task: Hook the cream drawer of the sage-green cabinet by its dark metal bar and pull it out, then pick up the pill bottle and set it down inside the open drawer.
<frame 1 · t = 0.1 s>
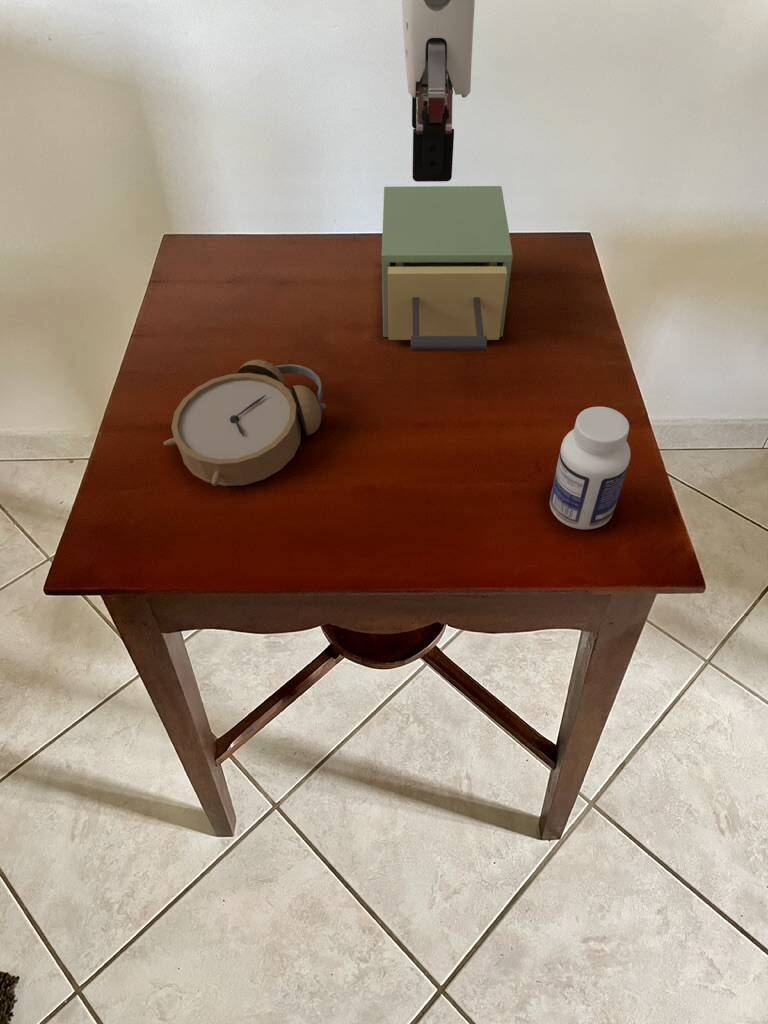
hand: (430, 152, 67), 20 cm above the table, tool pointing down, fingers open, 9 cm apart
alarm clock: (255, 435, 73), on the table
pill bottle: (580, 508, 66), on the table
cabinet: (440, 299, 86), on the table
drawer: (444, 293, 79), point 5 cm above the table, slide at 0.5 cm
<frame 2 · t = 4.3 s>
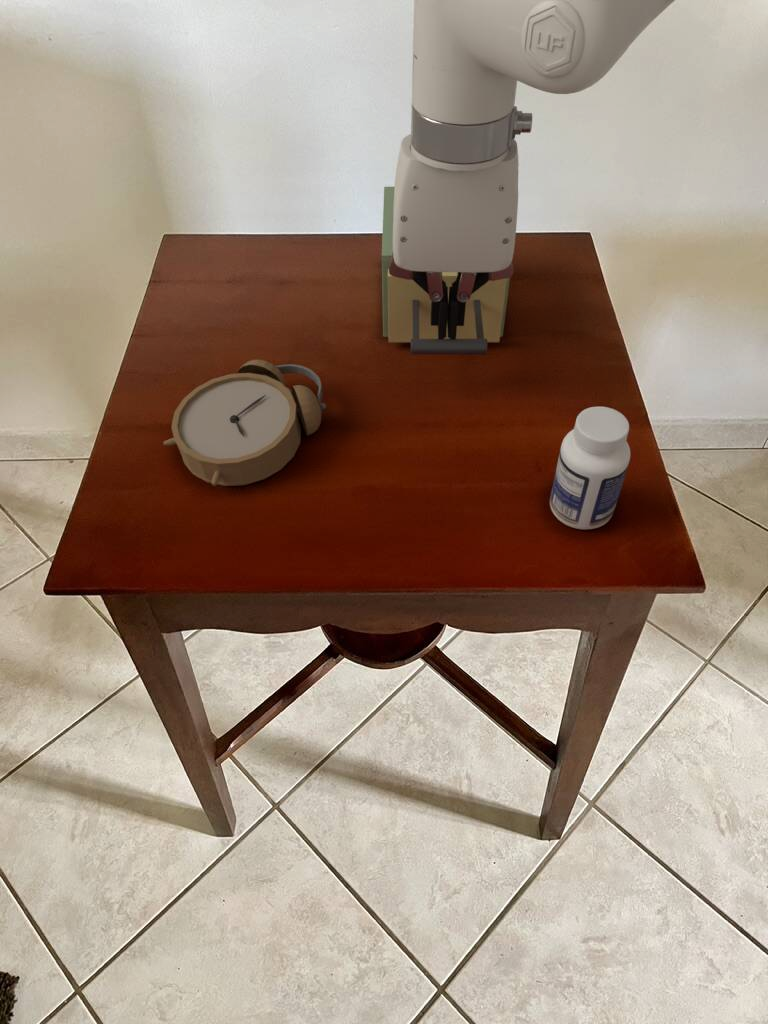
hand: (446, 329, 72), 6 cm above the table, tool pointing down, fingers closed
drawer: (444, 296, 78), point 5 cm above the table, slide at 0.9 cm, touching gripper
everything else where it was.
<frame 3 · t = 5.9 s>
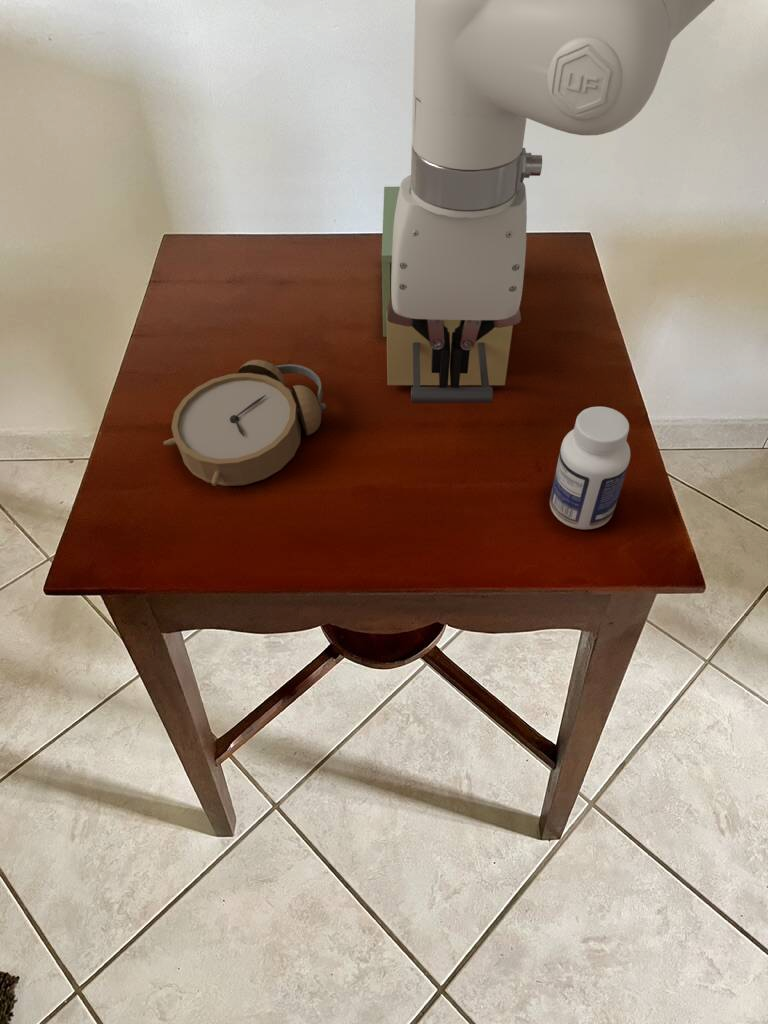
hand: (448, 376, 68), 6 cm above the table, tool pointing down, fingers closed
drawer: (447, 337, 74), point 5 cm above the table, slide at 7.7 cm, touching gripper
everything else where it was.
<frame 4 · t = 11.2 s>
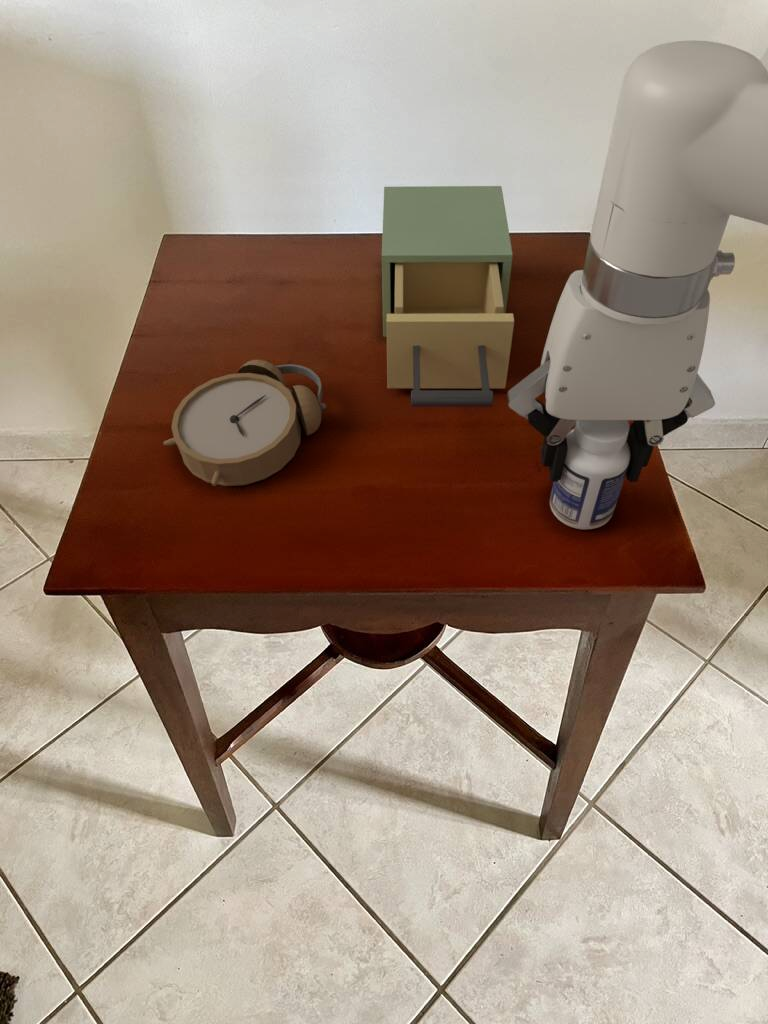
hand: (591, 467, 62), 5 cm above the table, tool pointing down, fingers closed on pill bottle, 5 cm apart
pill bottle: (580, 508, 66), on the table, touching gripper
drawer: (447, 340, 74), point 5 cm above the table, slide at 8.1 cm
everything else where it was.
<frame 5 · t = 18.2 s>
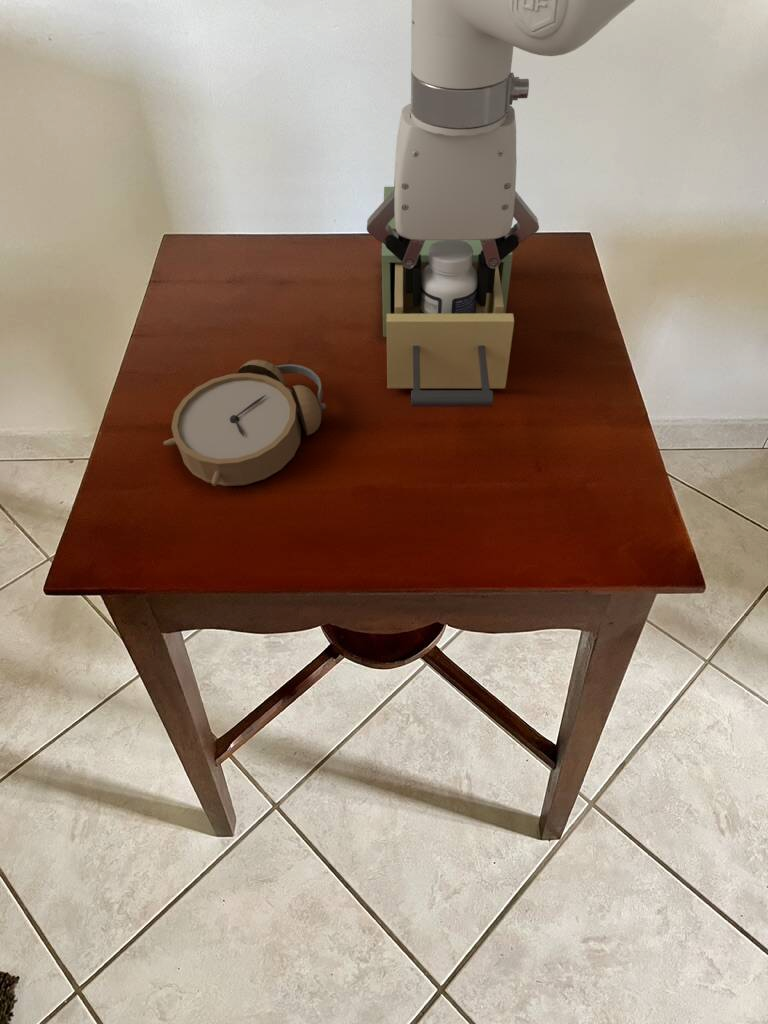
hand: (448, 296, 73), 8 cm above the table, tool pointing down, fingers closed on pill bottle, 5 cm apart
pill bottle: (446, 340, 77), point 3 cm above the table, touching gripper
drawer: (447, 340, 74), point 5 cm above the table, slide at 8.1 cm, touching gripper
everything else where it was.
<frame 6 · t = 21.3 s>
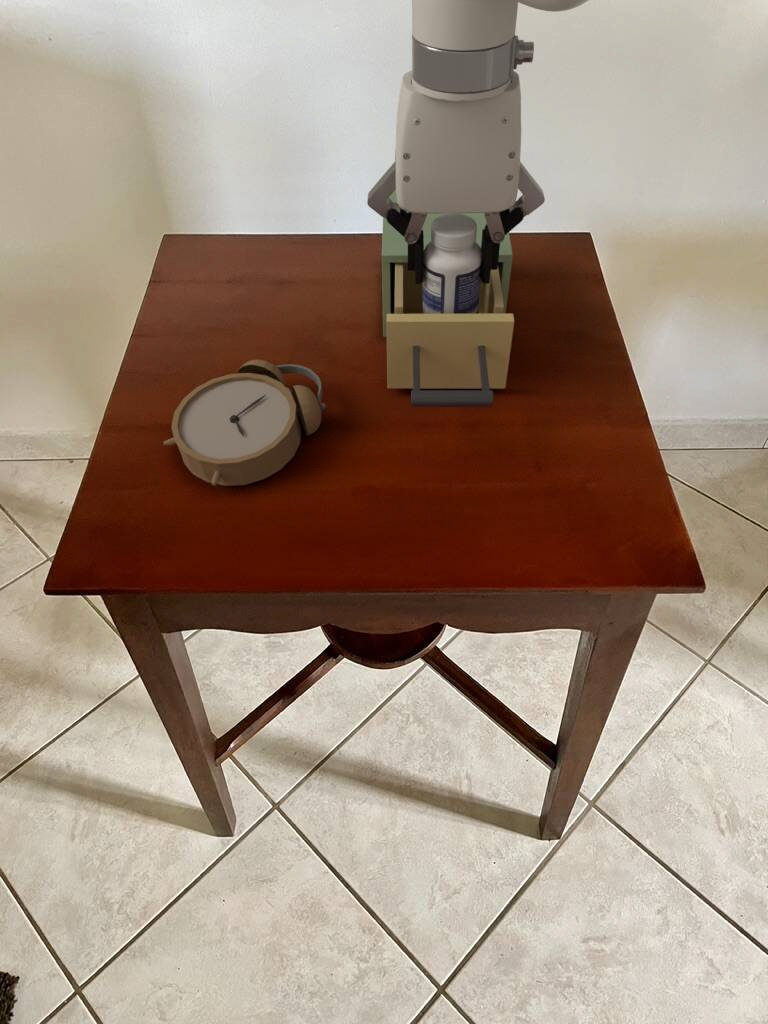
hand: (451, 273, 71), 10 cm above the table, tool pointing down, fingers closed on pill bottle, 5 cm apart
pill bottle: (449, 320, 75), point 5 cm above the table, touching gripper
drawer: (447, 340, 74), point 5 cm above the table, slide at 8.1 cm
everything else where it was.
when the fingers open (10 cm above the table, at t = 31.7 s): pill bottle drops 3 cm, resting on drawer.
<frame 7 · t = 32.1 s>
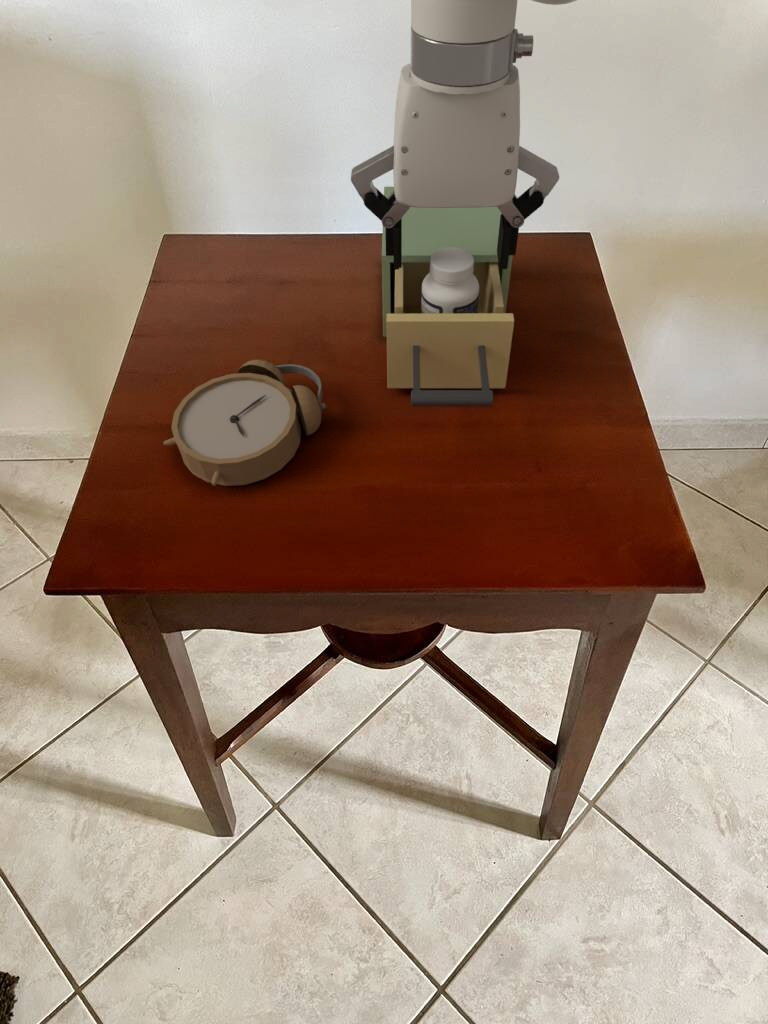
hand: (449, 260, 70), 11 cm above the table, tool pointing down, fingers open, 9 cm apart
pill bottle: (446, 346, 78), point 2 cm above the table, touching drawer
drawer: (447, 340, 74), point 5 cm above the table, slide at 8.1 cm, touching pill bottle
everything else where it was.
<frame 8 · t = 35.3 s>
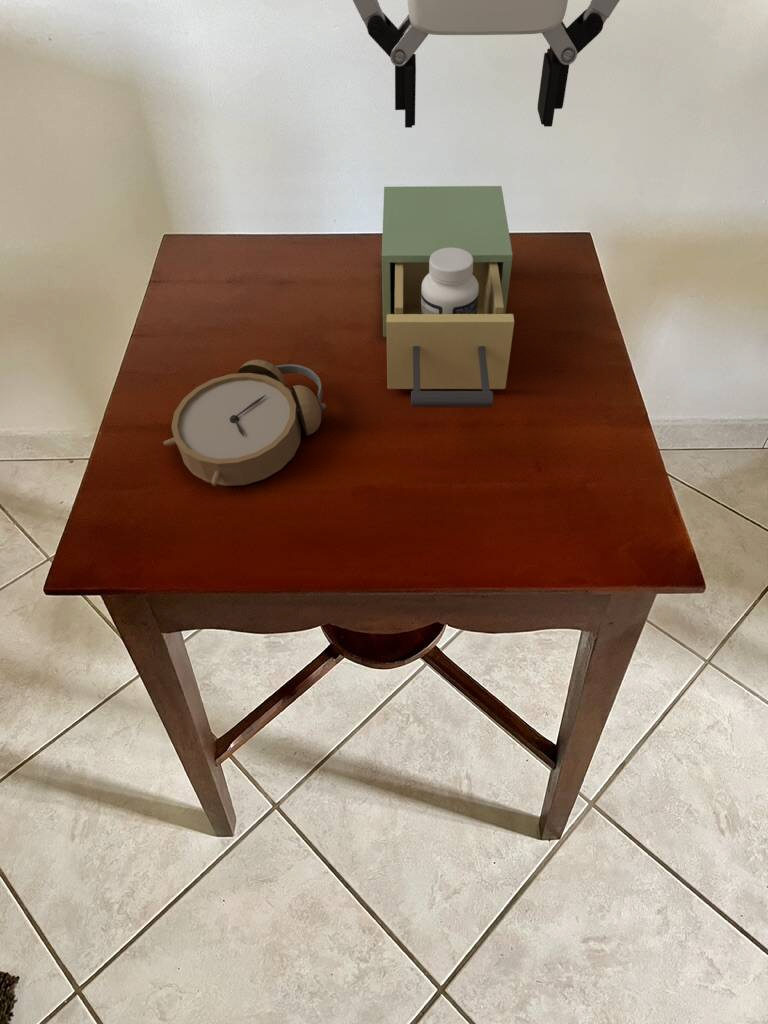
hand: (476, 119, 55), 26 cm above the table, tool pointing down, fingers open, 9 cm apart
nothing on the table moved.
at the end: drawer slide at 8.2 cm; pill bottle inside the target area in the drawer (0.5 cm from its centre), point 1.8 cm above the cabinet's base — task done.
